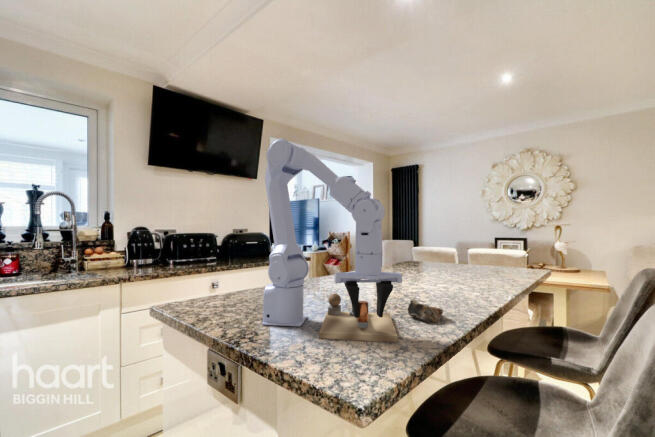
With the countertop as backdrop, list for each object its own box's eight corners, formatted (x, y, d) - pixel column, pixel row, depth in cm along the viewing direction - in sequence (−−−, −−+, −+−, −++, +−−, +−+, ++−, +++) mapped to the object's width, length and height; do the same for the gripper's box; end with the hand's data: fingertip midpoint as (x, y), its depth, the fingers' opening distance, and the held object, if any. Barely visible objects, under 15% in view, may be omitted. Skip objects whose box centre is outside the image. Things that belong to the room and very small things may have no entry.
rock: (431, 327, 69) (454, 312, 75) (422, 302, 70) (446, 289, 75) (404, 326, 76) (427, 312, 82) (397, 303, 77) (420, 292, 83)
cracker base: (319, 338, 61) (319, 308, 61) (327, 315, 77) (327, 291, 77) (397, 342, 59) (397, 311, 59) (389, 317, 75) (389, 293, 75)
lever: (350, 306, 79) (350, 287, 79) (362, 306, 79) (362, 287, 79) (355, 327, 61) (355, 303, 62) (370, 328, 61) (370, 303, 62)
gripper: (338, 254, 59) (337, 322, 58) (407, 255, 60) (407, 321, 60) (333, 251, 66) (332, 312, 65) (395, 252, 67) (395, 311, 67)
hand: (367, 316), depth 63 cm, fingers open, 5 cm apart
